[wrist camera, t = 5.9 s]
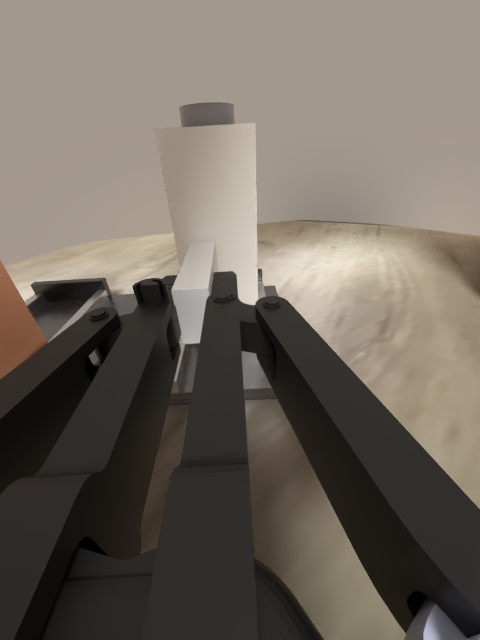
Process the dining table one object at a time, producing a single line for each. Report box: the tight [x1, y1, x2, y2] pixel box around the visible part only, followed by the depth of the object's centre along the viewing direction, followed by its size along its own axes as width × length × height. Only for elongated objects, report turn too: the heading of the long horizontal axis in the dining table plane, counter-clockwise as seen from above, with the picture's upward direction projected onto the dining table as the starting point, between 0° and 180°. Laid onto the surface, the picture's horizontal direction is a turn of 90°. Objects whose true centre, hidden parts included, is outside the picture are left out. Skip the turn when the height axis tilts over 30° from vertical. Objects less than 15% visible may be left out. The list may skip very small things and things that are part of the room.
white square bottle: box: [155, 103, 258, 305], centre depth 18 cm, size 5×5×14 cm
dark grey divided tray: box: [25, 269, 278, 404], centre depth 21 cm, size 26×14×3 cm, turn 92°
